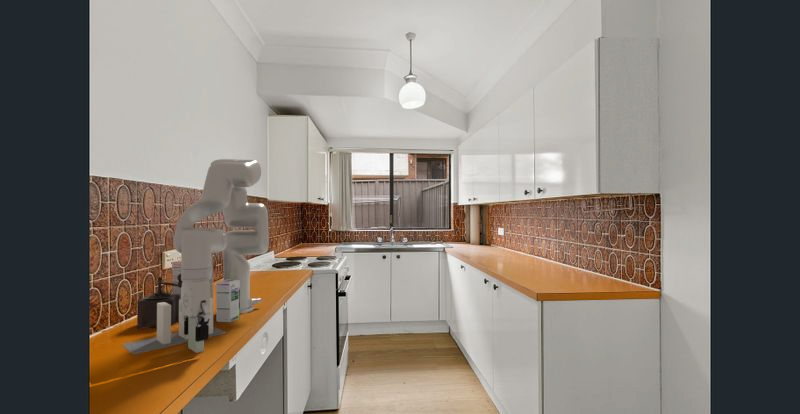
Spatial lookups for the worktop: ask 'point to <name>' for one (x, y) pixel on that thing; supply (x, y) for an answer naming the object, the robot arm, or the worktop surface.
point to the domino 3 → (191, 336)
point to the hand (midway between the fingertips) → (196, 336)
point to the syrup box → (228, 300)
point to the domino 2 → (181, 324)
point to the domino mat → (155, 344)
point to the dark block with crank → (149, 306)
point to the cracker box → (177, 270)
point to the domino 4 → (211, 317)
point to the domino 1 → (164, 322)
